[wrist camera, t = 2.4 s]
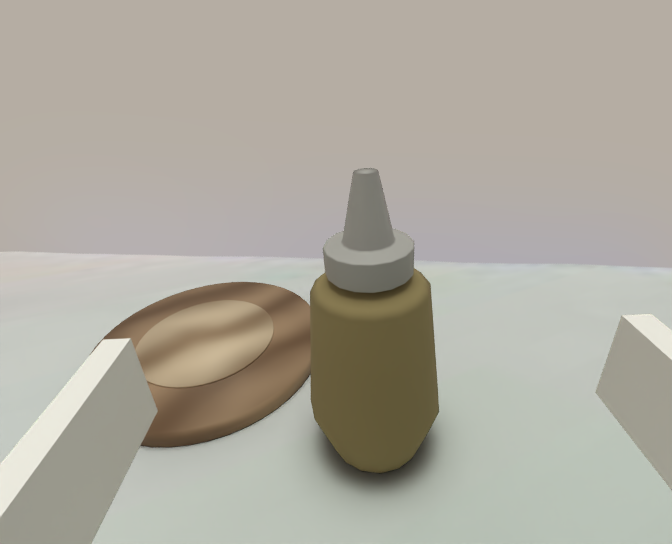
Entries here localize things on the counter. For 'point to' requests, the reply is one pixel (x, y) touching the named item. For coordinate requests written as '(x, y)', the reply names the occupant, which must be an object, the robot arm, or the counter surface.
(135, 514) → the counter surface
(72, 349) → the counter surface
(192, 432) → the walnut board
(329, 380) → the squeeze bottle
